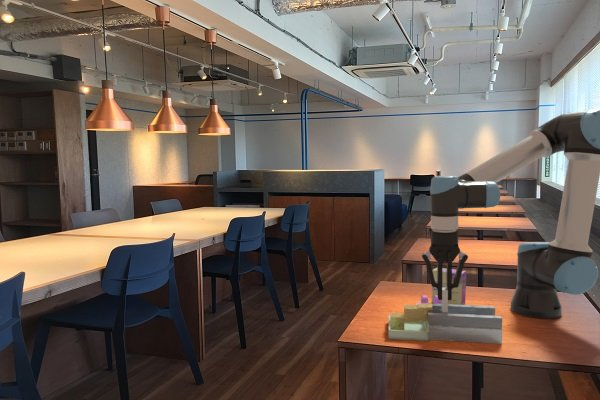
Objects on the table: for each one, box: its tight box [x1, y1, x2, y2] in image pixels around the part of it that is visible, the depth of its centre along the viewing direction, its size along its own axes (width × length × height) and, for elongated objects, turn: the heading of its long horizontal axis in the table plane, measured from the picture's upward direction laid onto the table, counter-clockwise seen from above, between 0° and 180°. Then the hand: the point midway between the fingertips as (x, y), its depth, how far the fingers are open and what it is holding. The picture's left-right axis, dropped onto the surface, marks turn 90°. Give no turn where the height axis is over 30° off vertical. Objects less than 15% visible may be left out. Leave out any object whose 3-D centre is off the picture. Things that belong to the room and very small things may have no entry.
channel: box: [426, 303, 503, 345], centre depth 140 cm, size 20×12×7 cm, turn 80°
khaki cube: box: [390, 312, 404, 330], centre depth 144 cm, size 4×4×4 cm
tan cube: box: [403, 304, 419, 323], centre depth 143 cm, size 4×4×4 cm
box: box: [431, 267, 467, 305], centre depth 169 cm, size 10×6×12 cm, turn 58°
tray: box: [388, 313, 430, 342], centre depth 143 cm, size 11×14×2 cm
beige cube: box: [416, 302, 433, 321], centre depth 142 cm, size 4×4×4 cm
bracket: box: [415, 294, 441, 305], centre depth 161 cm, size 13×6×7 cm, turn 0°
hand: (444, 310), depth 141 cm, fingers closed
